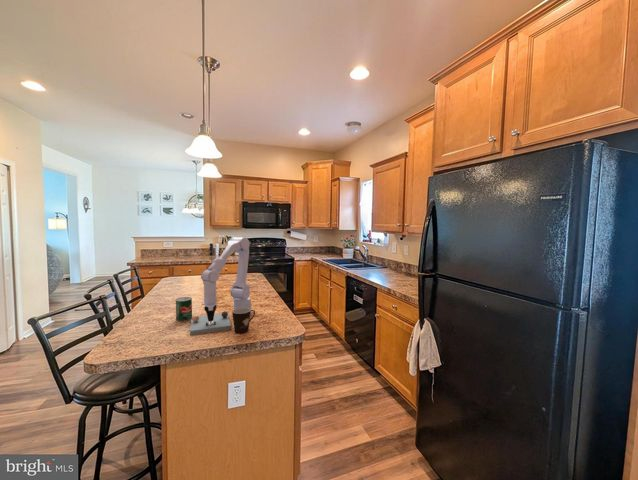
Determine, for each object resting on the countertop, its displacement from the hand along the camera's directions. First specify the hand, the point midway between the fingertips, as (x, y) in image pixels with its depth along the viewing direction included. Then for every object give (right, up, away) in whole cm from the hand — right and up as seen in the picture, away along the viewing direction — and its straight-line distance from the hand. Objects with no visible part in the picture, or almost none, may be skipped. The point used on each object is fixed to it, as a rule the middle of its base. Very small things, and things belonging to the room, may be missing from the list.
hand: (210, 320), depth 135 cm
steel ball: (+1, -1, -2) cm, 2 cm away
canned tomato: (-19, -2, +10) cm, 21 cm away
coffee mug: (+19, -4, -5) cm, 20 cm away
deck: (-1, -3, +2) cm, 3 cm away
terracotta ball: (-8, +1, +1) cm, 8 cm away
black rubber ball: (+5, +1, +7) cm, 9 cm away
